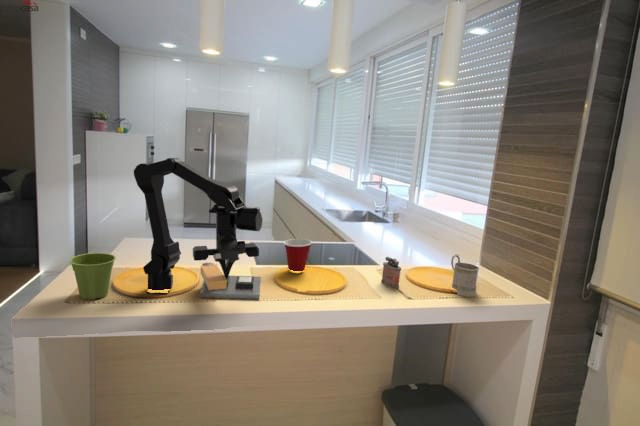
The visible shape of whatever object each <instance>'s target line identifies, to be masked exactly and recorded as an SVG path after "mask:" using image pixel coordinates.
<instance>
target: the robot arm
mask: <svg viewBox="0 0 640 426" xmlns="http://www.w3.org/2000/svg"><path fill="white" fill-rule="evenodd" d="M171 174H173V175H175V176H177V177H179V178H180V179H182V180H183V181H185V182H187V183H189V184H191V185H192V186H194V187H196V188H197V189H199V190H201V191H202V192H203V193H204V194H206V195H207V196H206V197H208V199H210V201H212V202H213V204H214V205H213V206H212V208H211V209H208V213H209V214H215V244H216V245H215V248H208V247H207V245H197V246H194V247H193V248H192V257H193V261H206V260H208V258H209V256H213V259H214V261H215V262H217V263H219V265H220V267H221V271H222V274H223V275H224V276H225V278H226V279H227V278H228V276H230V272H231V270H232V268H233V265H234V264H235V262H237V261H240V257H239V255H243V254H245V255H246V256H247V257H248V258H252V257H253V258H254V257H259V256H260V247H258V246H257V245H256V244H255V243H254V242H251V243H247V242H246V241H245V240H241V241H238V239H237V228H238V229H239V230H241V231H249V232H250V231H251V232H260V231H261V229H262V226H263V217H262V213H261V208H260V207H247V206H246V203H244V201H243V199H242V198H241V196H240V192H239V189H238V188H237V187H236V186H235V185H232V184H230V183H227V182H224V181H220V180H216V179H214V178H212V177H210V176H208V175H207V174H205V173H203V172H201V171H200V170H199V169H196V168H194V167H193V166H191V165H189V164H187V162H184V161H182V159H180V157H179V158H178V157H169V158H166V159H164V160H160V161H157V162H145V163H139V164H137V165H136V166H135V168H133V177H134V179H135V182H136V185H137V187H138V188H139V189H140V191H141V192H142V194H143V195H144V199H145V204H146V210H147V214H148V219H149V224H150V230H151V233H152V238H153V239H152V240H153V242H152V246H151V250H150V261H148V263H146V264H145V265H144V266H143V272H144V274H145V275H147V289H152V290H164V289H171V288H173V287H172V286H174V275H173V274H172V270H173V269H174V268H175V265H176V264H178V263H179V261H180V258H181V255H182V252H181V249H180V242H179V241H174V240H173V239H172V238H171V234H170V228H169V224H168V219H167V214H166V213H167V212H166V209H165V203H164V199H163V193H162V192H163V188H164V184H165V176H168V175H171ZM171 290H172V289H171Z"/></svg>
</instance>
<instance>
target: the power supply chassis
mask: <svg viewBox="0 0 640 426" xmlns="http://www.w3.org/2000/svg"><path fill="white" fill-rule="evenodd" d="M224 277H225V276H224ZM261 279H262V277H261V276H250V275H249V276H248V275H229V276H228V278H227V279H226V280H227V286H226V289H213V290H209V289H208V287H207V285H206V283H205V281H204V280H203V285H202V286H201V290H200V292H199V298H200V297H215V298H214V299H229V300H230V299H234V300H235V299H237V300H238V299H239V300H260V297H261V296H260V295H261Z"/></svg>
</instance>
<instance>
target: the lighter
mask: <svg viewBox="0 0 640 426" xmlns="http://www.w3.org/2000/svg"><path fill="white" fill-rule="evenodd" d="M385 261H386V262H385ZM385 261H384V262H383V263H382V265H383V266H382V267H383V268H382V277H381V280H380V281H381V282H380V283H382V284H383V285H384V286H387V287H389V288H392V289H395V290H396V289H397V288H398V289H399V288H400V278H401V271H402V267H401V266H399V264H400V261H399V260H397V258H392V257H390V256H386V257H385Z"/></svg>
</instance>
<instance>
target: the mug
mask: <svg viewBox="0 0 640 426" xmlns="http://www.w3.org/2000/svg"><path fill="white" fill-rule="evenodd" d="M460 256H461V255H460V254H457V253H456V254H454V255H453V256H452V258H451V261H450V263H451V268H452V270H453V278H452V284H451V286H452V288H454V289H456V290H457V291H458V292H457V294H456V295H457V296H462V297H468V298H469V297H470V298H471V297H477V296H478V292H477V289H476V287H477V279H478V275H479V271H480V267H479V266H477V265H474V264H471V263H469V262H467V263H466V262H461V259H460ZM455 257H456V258H457V262H456V263H454V259H455Z"/></svg>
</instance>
